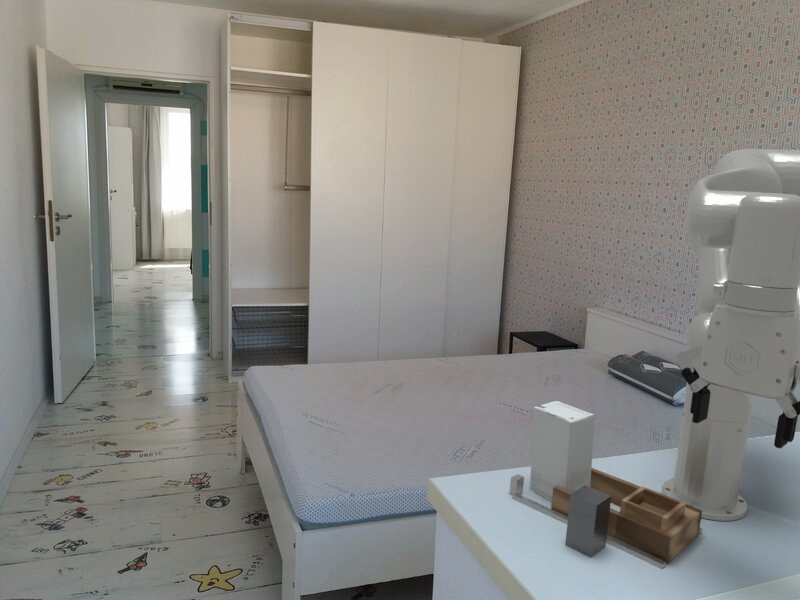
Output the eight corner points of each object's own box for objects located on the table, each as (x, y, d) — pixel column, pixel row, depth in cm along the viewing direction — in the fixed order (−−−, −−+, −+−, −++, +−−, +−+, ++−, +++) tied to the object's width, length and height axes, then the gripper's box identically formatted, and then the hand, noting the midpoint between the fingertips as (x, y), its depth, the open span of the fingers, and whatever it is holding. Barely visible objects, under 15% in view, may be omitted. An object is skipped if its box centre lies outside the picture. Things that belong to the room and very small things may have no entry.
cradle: (587, 489, 106) (590, 455, 105) (698, 535, 94) (704, 497, 92) (550, 510, 99) (554, 475, 97) (666, 564, 86) (672, 524, 85)
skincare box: (589, 502, 102) (599, 415, 99) (563, 511, 99) (573, 421, 96) (551, 480, 109) (559, 398, 106) (525, 488, 106) (533, 404, 103)
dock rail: (552, 471, 112) (554, 455, 112) (702, 533, 95) (704, 514, 94) (506, 496, 103) (507, 479, 102) (662, 570, 85) (664, 549, 84)
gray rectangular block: (579, 536, 92) (585, 485, 91) (605, 548, 90) (611, 495, 88) (565, 546, 90) (570, 493, 88) (590, 559, 87) (596, 505, 85)
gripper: (674, 289, 80) (657, 418, 83) (835, 315, 68) (808, 464, 71) (698, 285, 85) (682, 406, 88) (852, 307, 73) (826, 447, 76)
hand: (738, 432), depth 80 cm, fingers open, 9 cm apart
